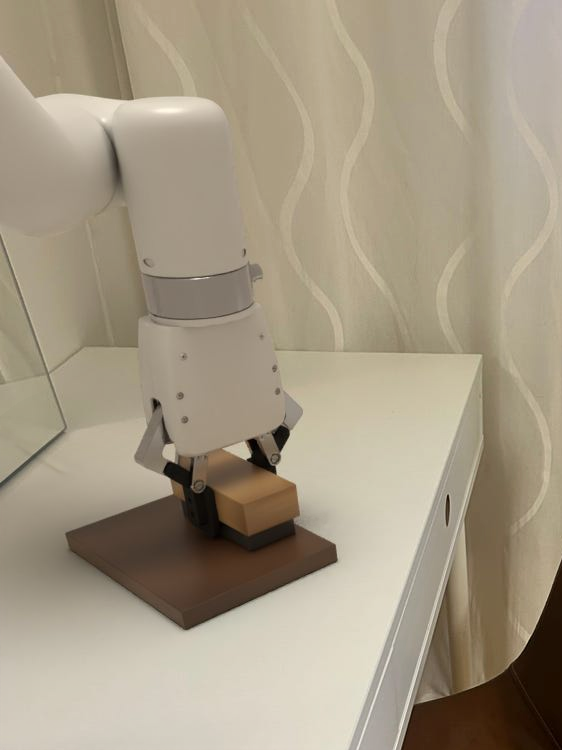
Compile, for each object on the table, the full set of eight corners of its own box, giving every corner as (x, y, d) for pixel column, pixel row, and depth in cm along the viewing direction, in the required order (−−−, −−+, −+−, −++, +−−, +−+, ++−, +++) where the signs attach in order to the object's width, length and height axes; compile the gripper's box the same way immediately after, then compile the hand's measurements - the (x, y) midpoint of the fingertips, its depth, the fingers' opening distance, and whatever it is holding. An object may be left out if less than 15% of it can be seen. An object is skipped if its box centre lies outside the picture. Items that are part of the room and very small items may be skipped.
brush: (176, 512, 82) (166, 464, 80) (227, 493, 85) (218, 446, 83) (251, 555, 76) (242, 504, 73) (302, 533, 79) (296, 483, 76)
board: (68, 548, 80) (64, 532, 79) (214, 494, 89) (211, 479, 88) (185, 630, 70) (181, 612, 69) (338, 560, 78) (336, 544, 77)
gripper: (266, 263, 77) (293, 474, 88) (63, 307, 67) (120, 539, 77) (324, 279, 73) (346, 499, 83) (116, 328, 63) (169, 571, 73)
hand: (237, 516), depth 80 cm, fingers closed on brush, 5 cm apart
